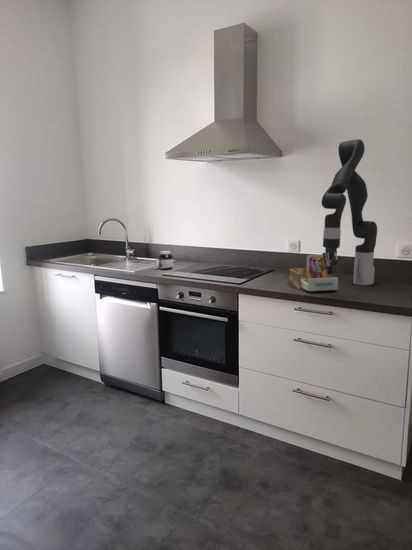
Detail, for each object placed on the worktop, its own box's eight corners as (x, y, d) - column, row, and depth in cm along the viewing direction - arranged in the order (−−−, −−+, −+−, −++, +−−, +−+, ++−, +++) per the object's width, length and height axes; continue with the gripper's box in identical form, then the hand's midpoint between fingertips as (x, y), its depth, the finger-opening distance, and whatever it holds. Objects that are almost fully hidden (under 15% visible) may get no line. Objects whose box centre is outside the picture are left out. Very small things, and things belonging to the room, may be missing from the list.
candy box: (322, 283, 213) (323, 254, 210) (325, 285, 208) (326, 255, 205) (305, 284, 211) (306, 255, 208) (308, 286, 207) (309, 256, 204)
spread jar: (175, 269, 268) (174, 251, 266) (161, 271, 261) (160, 253, 258) (164, 267, 277) (163, 249, 274) (150, 269, 269) (149, 251, 267)
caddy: (319, 281, 225) (320, 267, 223) (331, 287, 211) (332, 272, 210) (288, 283, 222) (289, 269, 220) (298, 289, 209) (299, 274, 207)
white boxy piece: (325, 283, 215) (326, 272, 214) (338, 290, 201) (339, 278, 200) (298, 285, 213) (298, 274, 212) (309, 292, 199) (310, 279, 197)
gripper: (346, 238, 184) (344, 276, 187) (332, 235, 197) (330, 271, 200) (330, 238, 183) (328, 277, 186) (318, 236, 195) (316, 271, 199)
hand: (329, 274), depth 193 cm, fingers closed
